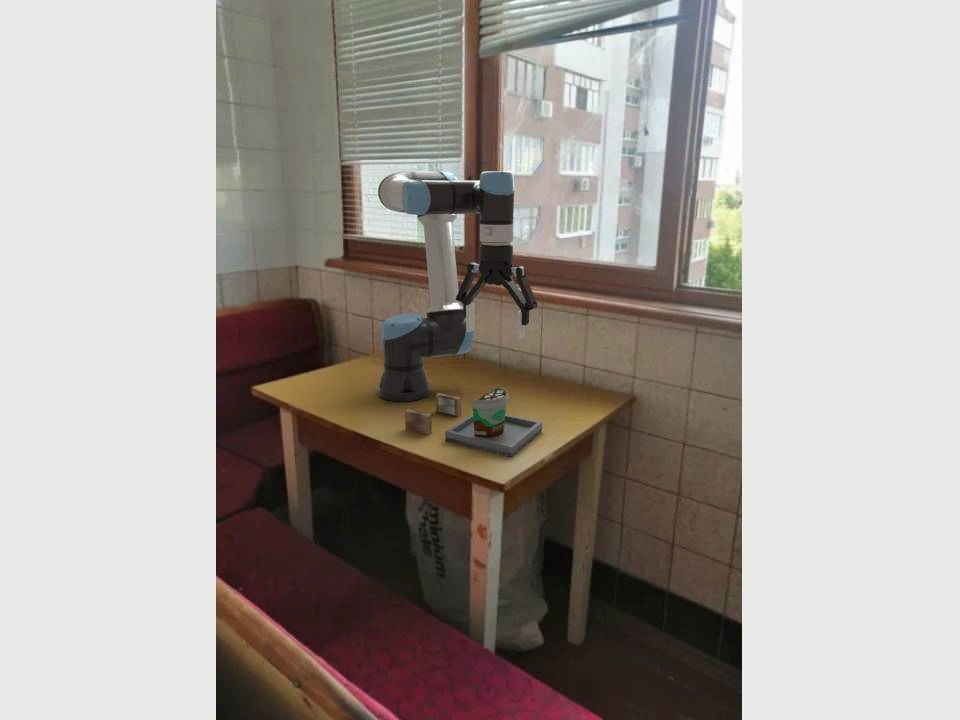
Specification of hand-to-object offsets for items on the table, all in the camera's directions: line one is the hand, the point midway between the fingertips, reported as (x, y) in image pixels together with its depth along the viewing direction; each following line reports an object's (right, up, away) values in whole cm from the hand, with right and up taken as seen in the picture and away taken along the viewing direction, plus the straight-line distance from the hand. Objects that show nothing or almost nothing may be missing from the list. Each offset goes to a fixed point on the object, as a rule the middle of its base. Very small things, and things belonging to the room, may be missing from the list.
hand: (495, 334), depth 138 cm
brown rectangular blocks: (-16, -22, +16) cm, 31 cm away
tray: (0, -25, +7) cm, 26 cm away
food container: (0, -24, +7) cm, 25 cm away
